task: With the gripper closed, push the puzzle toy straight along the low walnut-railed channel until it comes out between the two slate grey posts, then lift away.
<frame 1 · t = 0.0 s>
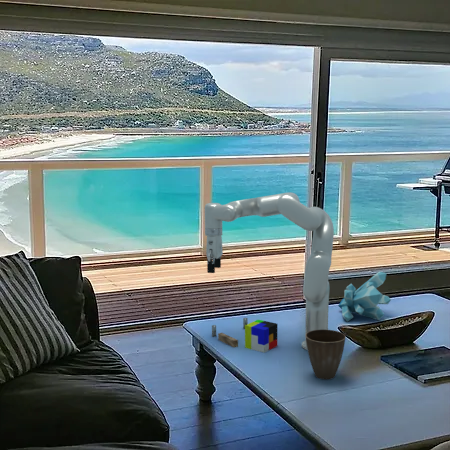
hand: (214, 270, 285), 31 cm above the table, tool pointing down, fingers open, 9 cm apart
plant pot: (324, 376, 248), on the table
crystal cluster: (365, 318, 317), on the table
puzzle toy: (261, 347, 280), on the table
walnut channel: (244, 339, 289), on the table
slate goal posts: (230, 332, 298), on the table
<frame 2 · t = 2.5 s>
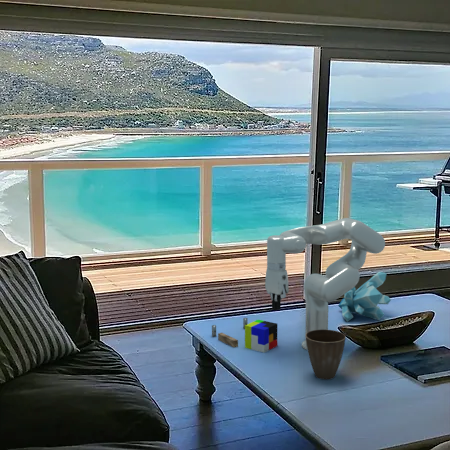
hand: (276, 309, 268), 19 cm above the table, tool pointing down, fingers closed
nothing on the table moved.
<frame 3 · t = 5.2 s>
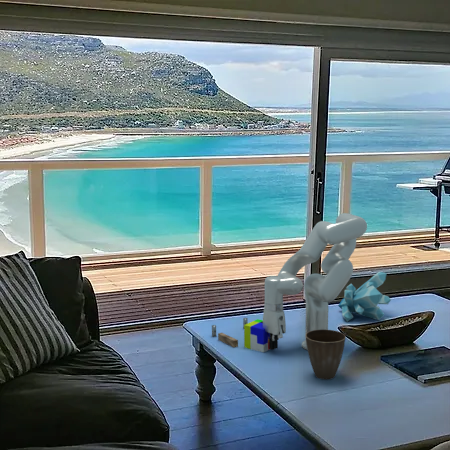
hand: (273, 348, 272), 2 cm above the table, tool pointing down, fingers closed
puzzle toy: (260, 347, 280), on the table, touching gripper
everything else where it was.
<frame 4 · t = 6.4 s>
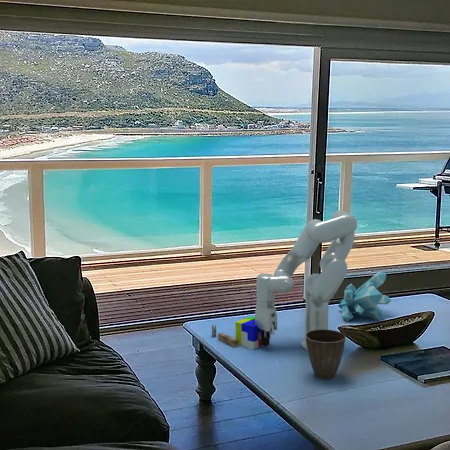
hand: (265, 345, 277), 2 cm above the table, tool pointing down, fingers closed
puzzle toy: (252, 344, 283), on the table, touching gripper
everything else where it was.
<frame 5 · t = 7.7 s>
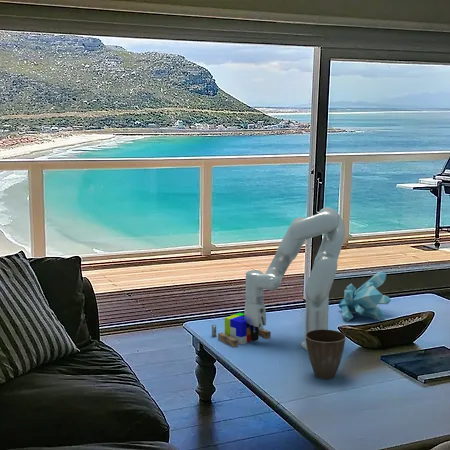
hand: (254, 340, 283), 2 cm above the table, tool pointing down, fingers closed
puzzle toy: (240, 339, 289), on the table, touching gripper
everything else where it was.
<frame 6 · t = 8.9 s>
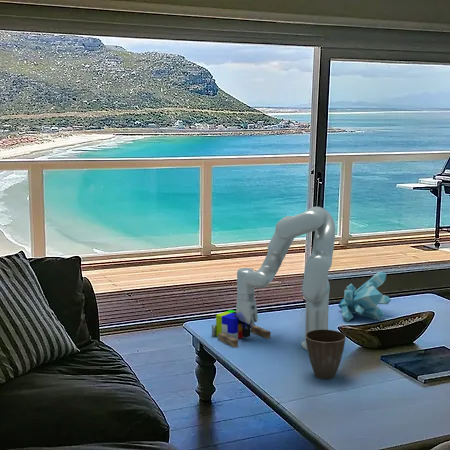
hand: (246, 336, 288), 1 cm above the table, tool pointing down, fingers closed
puzzle toy: (232, 336, 294), on the table, touching gripper, slate goal posts
everything else where it was.
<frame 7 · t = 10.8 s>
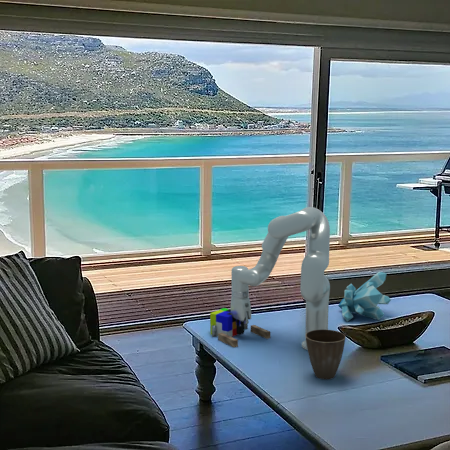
hand: (240, 333, 291), 2 cm above the table, tool pointing down, fingers closed
puzzle toy: (225, 334, 297), on the table, touching gripper
everything else where it was.
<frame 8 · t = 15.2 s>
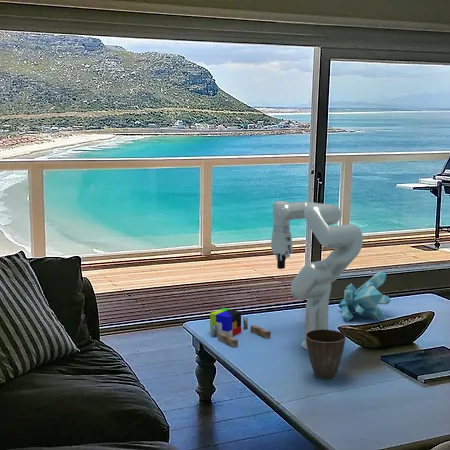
hand: (281, 268, 296), 29 cm above the table, tool pointing down, fingers closed
puzzle toy: (225, 334, 297), on the table
everything else where it was.
at the end: puzzle toy inside the target area (3.0 cm from its centre), on the table; puzzle toy tilted 0° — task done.
